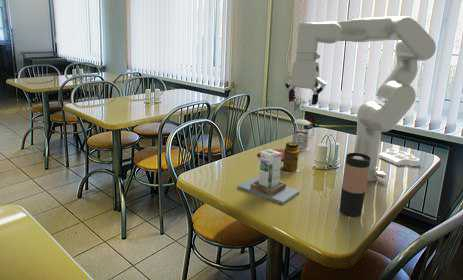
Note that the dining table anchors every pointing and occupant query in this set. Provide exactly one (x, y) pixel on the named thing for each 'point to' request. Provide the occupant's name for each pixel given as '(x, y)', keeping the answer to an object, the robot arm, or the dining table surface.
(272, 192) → the socket frame
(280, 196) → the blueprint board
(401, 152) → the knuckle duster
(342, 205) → the travel mug
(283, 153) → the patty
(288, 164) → the condiment
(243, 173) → the dining table surface
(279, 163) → the syrup box
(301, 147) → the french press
